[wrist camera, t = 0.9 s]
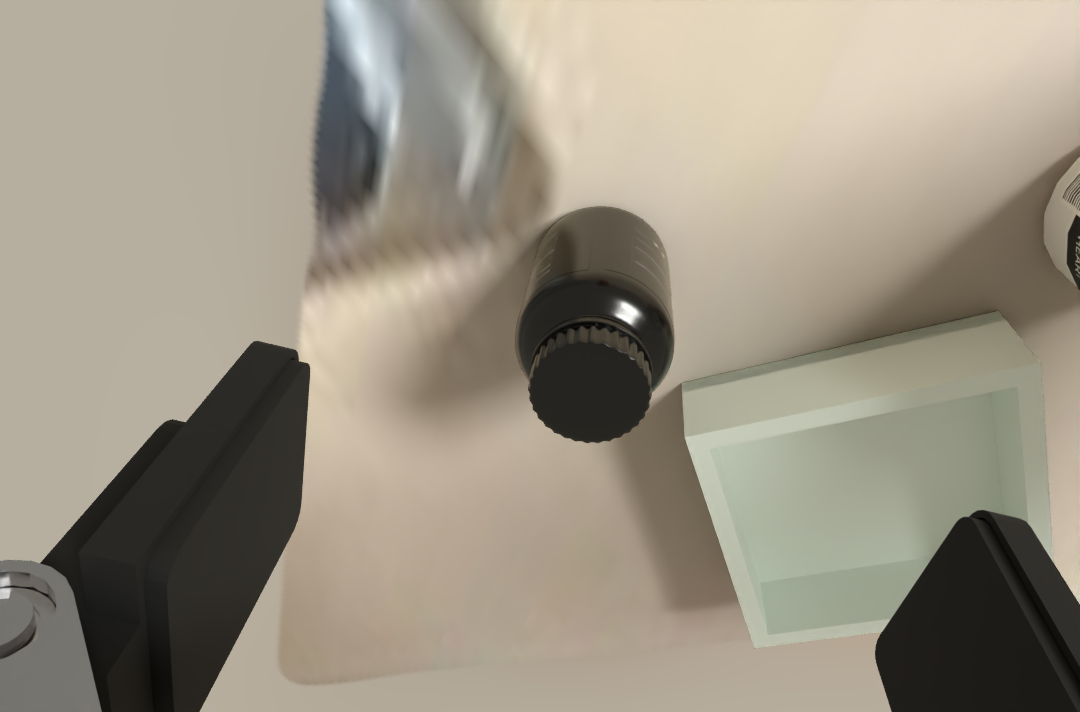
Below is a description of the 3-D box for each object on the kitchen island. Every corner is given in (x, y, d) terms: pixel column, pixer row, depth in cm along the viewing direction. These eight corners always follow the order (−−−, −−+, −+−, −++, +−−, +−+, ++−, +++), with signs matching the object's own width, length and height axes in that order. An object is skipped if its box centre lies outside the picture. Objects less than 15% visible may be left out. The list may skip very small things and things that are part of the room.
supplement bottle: (576, 342, 43) (552, 486, 33) (512, 238, 40) (464, 360, 30) (693, 291, 40) (706, 429, 30) (632, 177, 38) (625, 286, 27)
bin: (998, 310, 39) (1040, 363, 35) (1019, 542, 46) (1056, 609, 42) (681, 382, 43) (684, 437, 39) (745, 583, 50) (754, 648, 46)
